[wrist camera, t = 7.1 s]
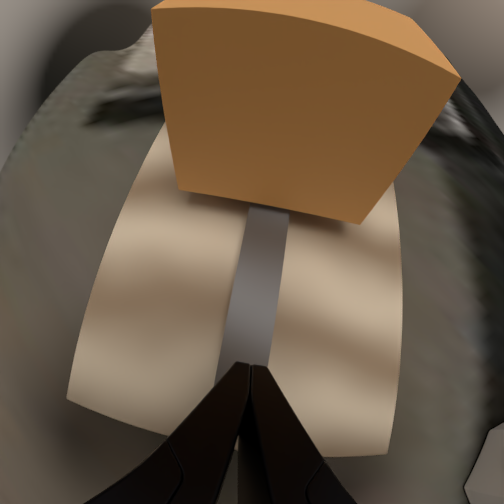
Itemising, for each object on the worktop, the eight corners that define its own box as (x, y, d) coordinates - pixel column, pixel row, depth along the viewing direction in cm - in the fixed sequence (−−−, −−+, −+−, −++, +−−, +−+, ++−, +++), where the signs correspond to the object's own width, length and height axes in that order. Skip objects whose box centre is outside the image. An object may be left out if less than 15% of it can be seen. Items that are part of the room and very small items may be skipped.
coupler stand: (376, 450, 12) (505, 484, 3) (77, 398, 12) (-57, 393, 3) (375, 126, 22) (416, 40, 13) (192, 89, 22) (188, -6, 13)
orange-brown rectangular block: (359, 225, 14) (461, 78, 5) (178, 190, 14) (150, 8, 5) (355, 142, 16) (410, 18, 8) (209, 113, 16) (210, -25, 8)
